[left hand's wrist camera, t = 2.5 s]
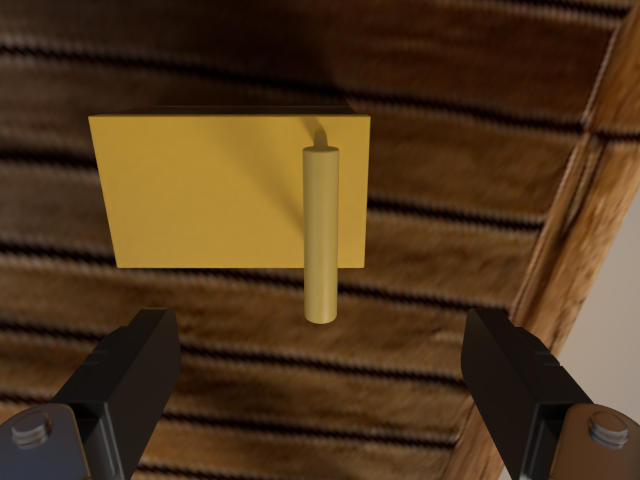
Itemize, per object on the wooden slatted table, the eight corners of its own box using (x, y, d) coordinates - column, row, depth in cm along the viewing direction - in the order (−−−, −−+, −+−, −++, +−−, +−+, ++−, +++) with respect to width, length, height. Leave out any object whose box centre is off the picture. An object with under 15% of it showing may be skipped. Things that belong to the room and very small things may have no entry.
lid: (368, 114, 24) (393, 131, 16) (362, 259, 28) (380, 337, 19) (98, 114, 24) (-18, 132, 16) (125, 260, 28) (41, 337, 19)
